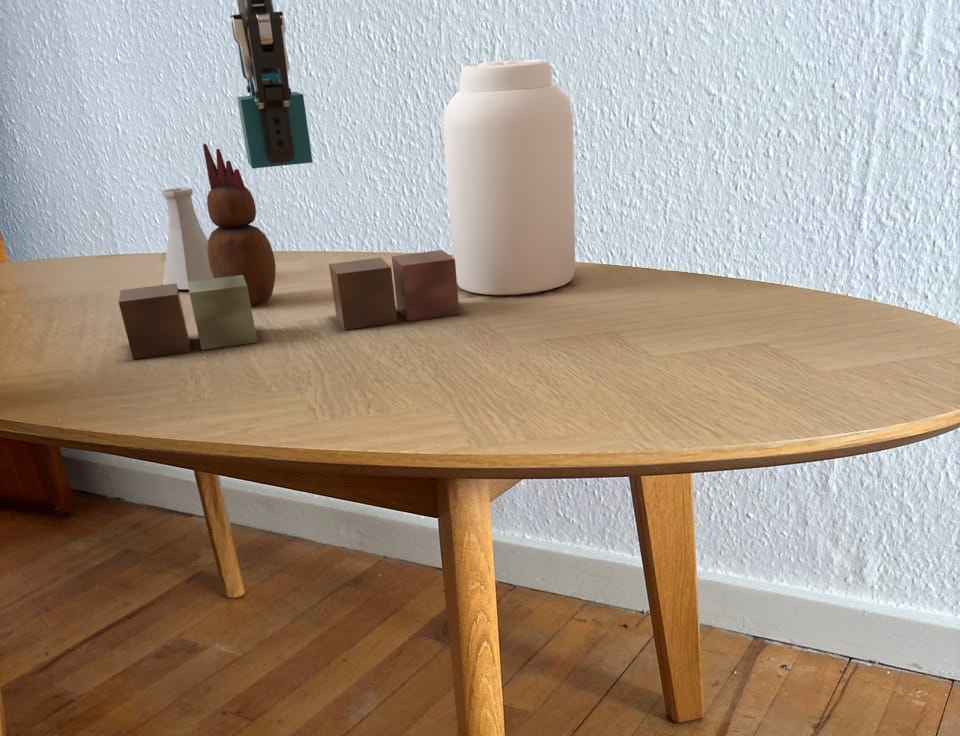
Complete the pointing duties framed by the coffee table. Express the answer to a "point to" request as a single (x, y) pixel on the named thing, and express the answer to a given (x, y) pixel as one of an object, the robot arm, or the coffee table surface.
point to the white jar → (510, 179)
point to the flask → (184, 241)
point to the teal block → (256, 137)
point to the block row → (228, 313)
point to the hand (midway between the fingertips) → (278, 157)
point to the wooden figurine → (237, 232)
